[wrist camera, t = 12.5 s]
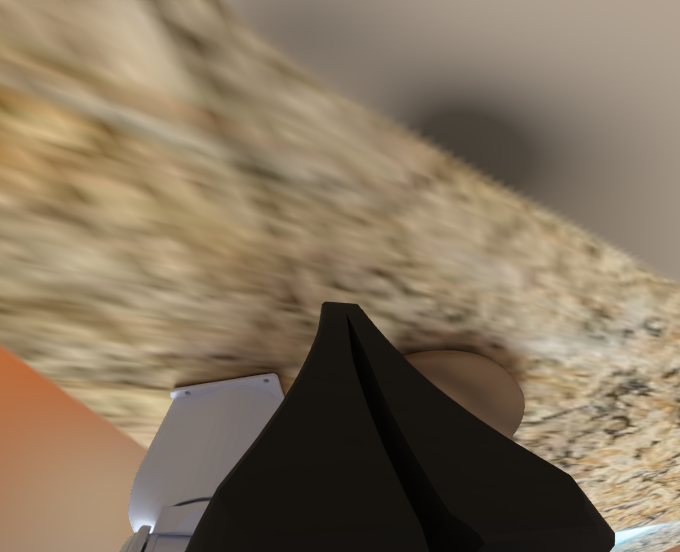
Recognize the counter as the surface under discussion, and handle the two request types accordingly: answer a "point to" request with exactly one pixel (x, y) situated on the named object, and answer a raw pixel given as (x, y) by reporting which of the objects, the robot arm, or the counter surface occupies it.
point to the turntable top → (474, 386)
